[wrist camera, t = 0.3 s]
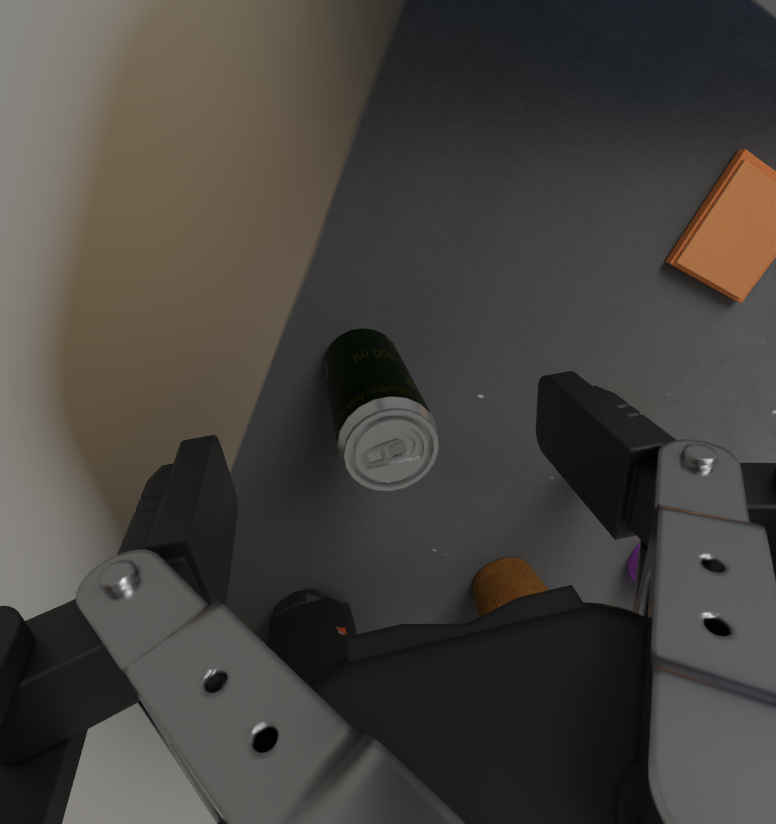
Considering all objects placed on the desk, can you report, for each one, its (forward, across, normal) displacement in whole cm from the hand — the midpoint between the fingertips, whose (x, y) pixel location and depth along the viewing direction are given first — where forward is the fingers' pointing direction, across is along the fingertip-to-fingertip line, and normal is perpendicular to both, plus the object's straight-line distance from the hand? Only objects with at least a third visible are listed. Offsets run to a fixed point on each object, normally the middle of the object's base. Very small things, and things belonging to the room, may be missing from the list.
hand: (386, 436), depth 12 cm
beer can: (+23, -1, +8) cm, 24 cm away
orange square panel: (+22, -30, +2) cm, 38 cm away
